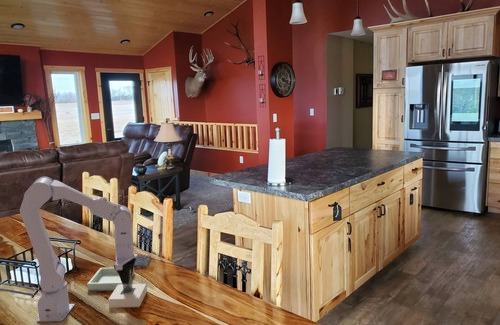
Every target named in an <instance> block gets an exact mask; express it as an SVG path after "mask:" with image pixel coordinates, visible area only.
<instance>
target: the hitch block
mask: <svg viewBox="0 0 500 325" xmlns="http://www.w3.org/2000/svg"><path fill="white" fill-rule="evenodd" d="M112 291H113V292H112V293H111V294H110V296H109V297H108V299H107V300H108V308H109V309H111V308H139V307H141V304H142V303H143V301H144V299H145V296H146V294H147V292H148V290H147V283H132V291H131V292H129V293H124V292H123V284H119V285H117V287H116V288H115V290H112Z"/></svg>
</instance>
